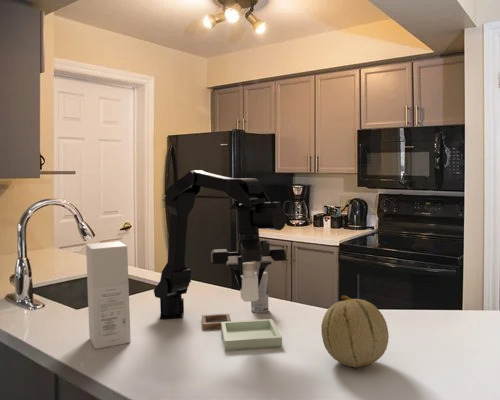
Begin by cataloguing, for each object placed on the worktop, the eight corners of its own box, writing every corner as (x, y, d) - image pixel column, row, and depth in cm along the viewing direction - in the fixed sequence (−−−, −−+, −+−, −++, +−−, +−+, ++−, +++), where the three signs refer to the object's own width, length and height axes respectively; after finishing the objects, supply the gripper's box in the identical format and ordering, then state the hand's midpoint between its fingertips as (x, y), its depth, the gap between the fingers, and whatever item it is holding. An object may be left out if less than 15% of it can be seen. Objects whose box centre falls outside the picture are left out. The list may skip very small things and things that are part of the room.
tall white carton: (123, 332, 125) (120, 241, 123) (130, 342, 117) (127, 245, 115) (89, 338, 120) (85, 244, 119) (94, 349, 113) (90, 249, 111)
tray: (225, 351, 110) (224, 340, 110) (221, 331, 124) (221, 322, 124) (282, 347, 112) (281, 337, 112) (272, 327, 126) (272, 319, 126)
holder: (202, 329, 126) (202, 324, 125) (201, 320, 134) (201, 315, 133) (231, 327, 127) (231, 322, 126) (229, 318, 134) (229, 313, 134)
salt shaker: (240, 298, 119) (238, 262, 118) (254, 297, 120) (253, 261, 120) (244, 302, 115) (242, 265, 115) (259, 301, 116) (258, 264, 116)
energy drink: (269, 308, 144) (268, 270, 143) (268, 313, 139) (267, 274, 138) (252, 307, 145) (251, 270, 144) (250, 313, 139) (249, 274, 139)
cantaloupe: (377, 385, 92) (377, 311, 91) (310, 369, 100) (309, 301, 99) (396, 358, 104) (396, 294, 103) (335, 346, 112) (335, 286, 111)
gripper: (212, 233, 107) (214, 299, 108) (290, 230, 110) (291, 294, 111) (210, 227, 118) (212, 287, 119) (281, 225, 121) (282, 283, 122)
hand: (249, 288), depth 117 cm, fingers closed on salt shaker, 4 cm apart
